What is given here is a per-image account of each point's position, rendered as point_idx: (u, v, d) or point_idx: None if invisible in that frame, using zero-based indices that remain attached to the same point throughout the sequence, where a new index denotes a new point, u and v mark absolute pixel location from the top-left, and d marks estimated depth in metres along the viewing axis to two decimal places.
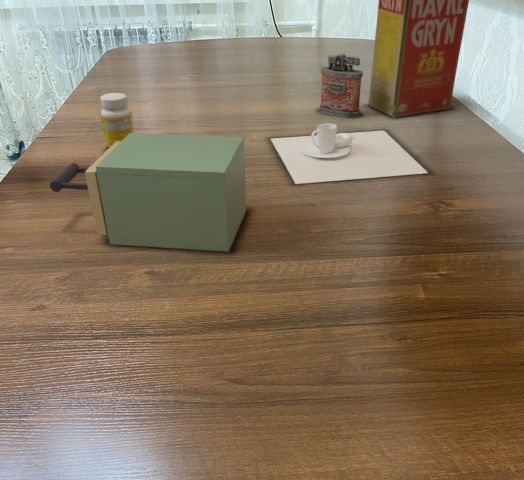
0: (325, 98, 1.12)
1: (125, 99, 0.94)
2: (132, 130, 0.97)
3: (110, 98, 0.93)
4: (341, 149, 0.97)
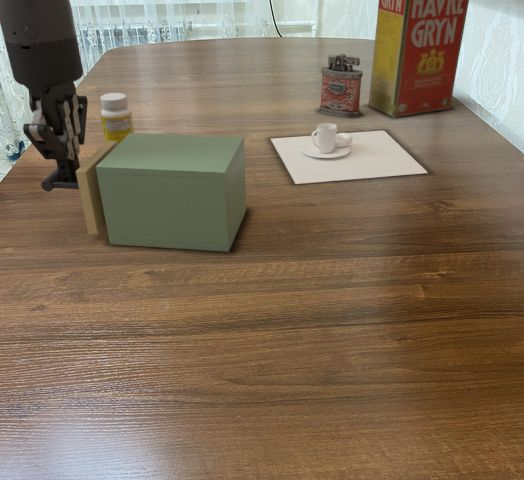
0: (325, 98, 1.12)
1: (125, 99, 0.94)
2: (132, 130, 0.97)
3: (110, 98, 0.93)
4: (341, 149, 0.97)
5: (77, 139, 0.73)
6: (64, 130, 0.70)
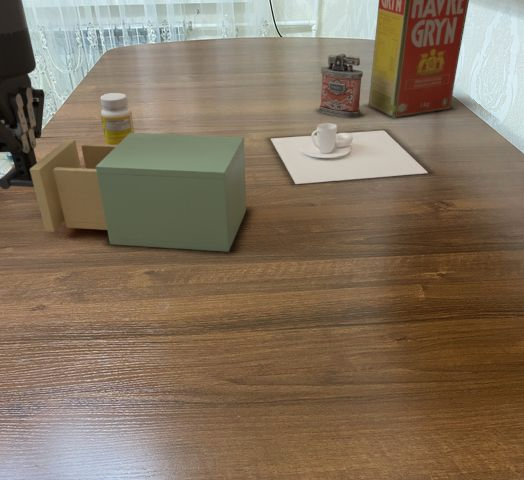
0: (325, 98, 1.12)
1: (125, 99, 0.94)
2: (132, 130, 0.97)
3: (110, 98, 0.93)
4: (341, 149, 0.97)
5: (33, 132, 0.74)
6: (17, 123, 0.70)
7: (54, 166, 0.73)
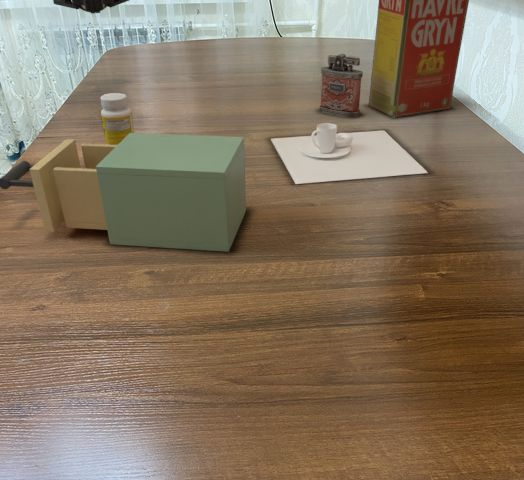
0: (325, 98, 1.12)
1: (125, 99, 0.94)
2: (132, 130, 0.97)
3: (110, 98, 0.93)
4: (341, 149, 0.97)
5: (84, 6, 0.97)
6: None
7: (54, 166, 0.73)
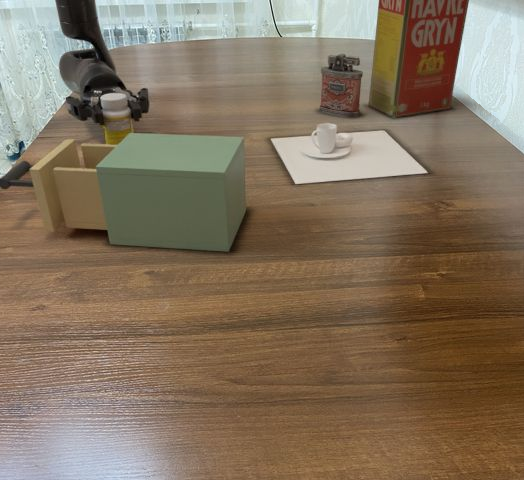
0: (325, 98, 1.12)
1: (125, 99, 0.94)
2: (132, 130, 0.97)
3: (110, 98, 0.93)
4: (341, 149, 0.97)
5: None
6: None
7: (54, 166, 0.73)
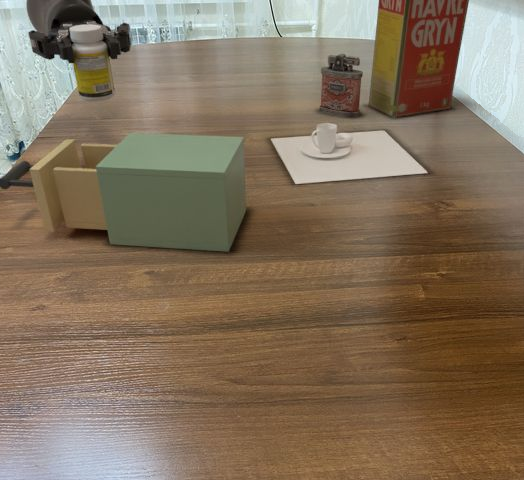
0: (325, 98, 1.12)
1: (100, 31, 0.77)
2: (109, 71, 0.80)
3: (81, 29, 0.76)
4: (341, 149, 0.97)
5: None
6: None
7: (54, 166, 0.73)
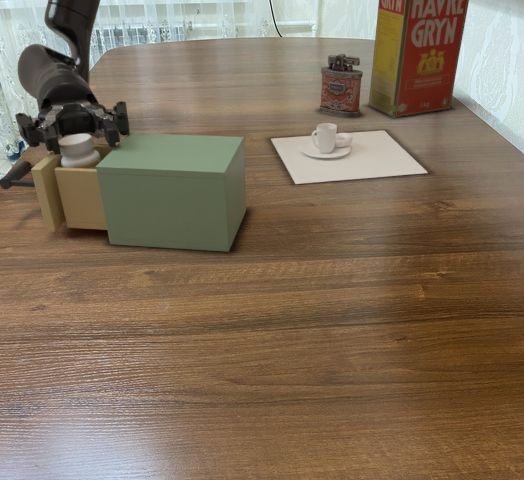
0: (325, 98, 1.12)
1: (89, 141, 0.71)
2: None
3: (70, 142, 0.71)
4: (341, 149, 0.97)
5: None
6: None
7: (55, 166, 0.73)
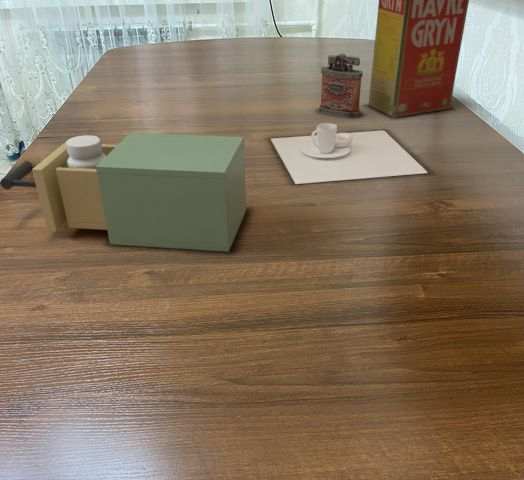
0: (325, 98, 1.12)
1: (99, 144, 0.72)
2: None
3: (79, 144, 0.71)
4: (341, 149, 0.97)
5: None
6: None
7: (56, 166, 0.73)
